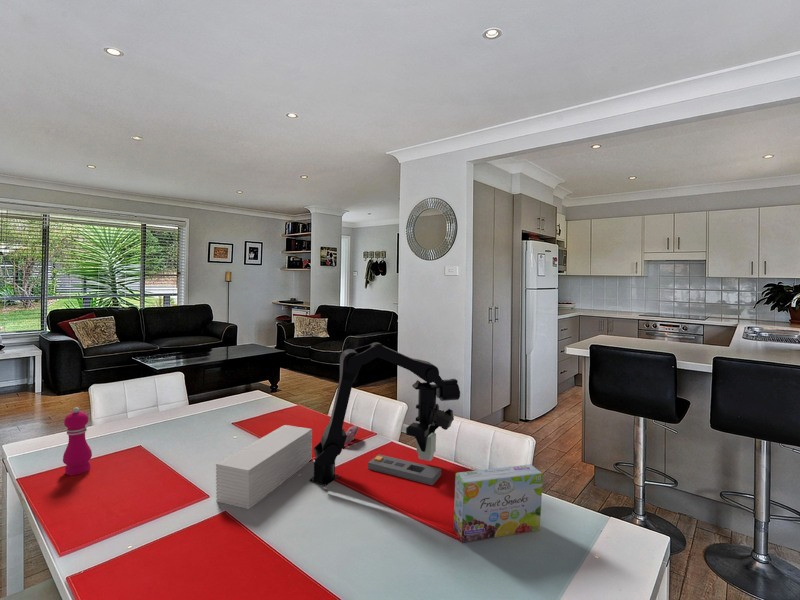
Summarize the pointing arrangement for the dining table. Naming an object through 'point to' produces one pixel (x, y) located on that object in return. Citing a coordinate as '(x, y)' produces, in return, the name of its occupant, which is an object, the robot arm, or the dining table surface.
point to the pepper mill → (76, 443)
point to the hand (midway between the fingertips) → (426, 449)
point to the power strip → (405, 469)
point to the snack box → (497, 502)
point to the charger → (428, 448)
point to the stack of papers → (262, 466)
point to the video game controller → (351, 434)
